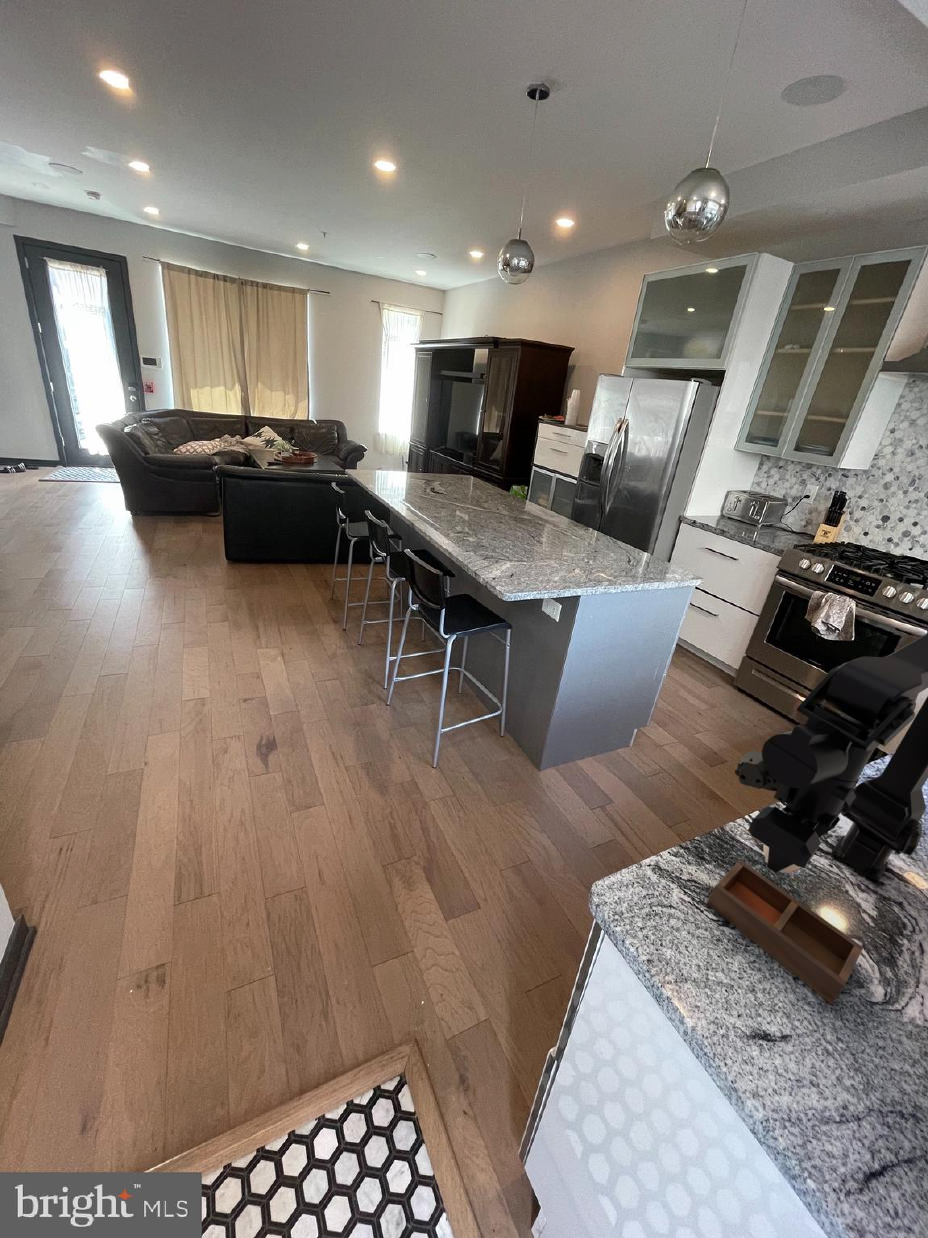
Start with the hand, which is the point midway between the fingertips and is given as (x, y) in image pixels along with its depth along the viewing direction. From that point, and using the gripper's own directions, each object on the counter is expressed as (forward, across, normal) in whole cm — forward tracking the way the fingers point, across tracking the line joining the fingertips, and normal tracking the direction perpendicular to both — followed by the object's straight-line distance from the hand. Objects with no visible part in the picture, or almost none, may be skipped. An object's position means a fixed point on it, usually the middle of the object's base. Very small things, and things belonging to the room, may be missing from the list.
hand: (779, 861), depth 66 cm
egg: (+1, 0, 0) cm, 1 cm away
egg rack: (+10, +1, +3) cm, 10 cm away
